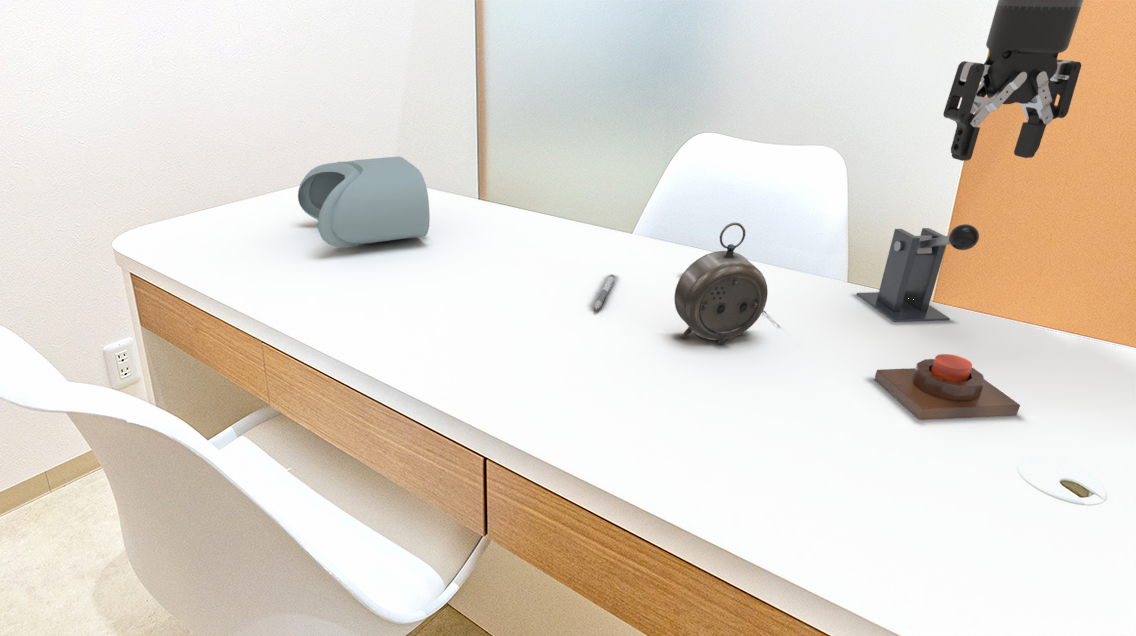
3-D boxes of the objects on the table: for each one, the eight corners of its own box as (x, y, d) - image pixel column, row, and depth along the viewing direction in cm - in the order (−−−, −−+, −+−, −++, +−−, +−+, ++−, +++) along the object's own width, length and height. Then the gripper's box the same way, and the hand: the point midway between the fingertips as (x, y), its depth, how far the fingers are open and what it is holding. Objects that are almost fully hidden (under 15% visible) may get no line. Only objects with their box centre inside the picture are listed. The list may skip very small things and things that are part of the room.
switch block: (960, 382, 89) (970, 352, 87) (1014, 422, 81) (1026, 390, 79) (872, 385, 88) (880, 355, 86) (917, 426, 80) (927, 394, 78)
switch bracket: (947, 326, 103) (973, 244, 98) (892, 328, 102) (914, 245, 97) (906, 298, 112) (927, 221, 107) (855, 300, 111) (873, 222, 106)
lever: (985, 248, 92) (985, 222, 92) (960, 248, 92) (960, 222, 92) (922, 258, 104) (922, 235, 104) (900, 258, 104) (900, 235, 104)
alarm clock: (744, 332, 101) (765, 214, 94) (764, 349, 96) (787, 227, 89) (667, 337, 99) (682, 218, 92) (683, 356, 95) (700, 231, 87)
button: (954, 367, 84) (958, 353, 84) (975, 382, 81) (980, 368, 80) (924, 368, 84) (928, 354, 83) (943, 383, 81) (948, 369, 80)
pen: (615, 281, 118) (616, 272, 117) (599, 315, 106) (599, 305, 105) (609, 280, 118) (609, 272, 117) (591, 314, 106) (592, 304, 106)
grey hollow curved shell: (431, 248, 132) (428, 175, 126) (322, 262, 125) (314, 185, 119) (396, 215, 150) (392, 150, 144) (300, 225, 143) (292, 157, 137)
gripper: (1011, 3, 74) (964, 168, 82) (1127, 3, 77) (1071, 162, 84) (954, 1, 81) (915, 154, 88) (1064, 1, 84) (1017, 149, 91)
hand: (992, 158), depth 86 cm, fingers open, 8 cm apart
